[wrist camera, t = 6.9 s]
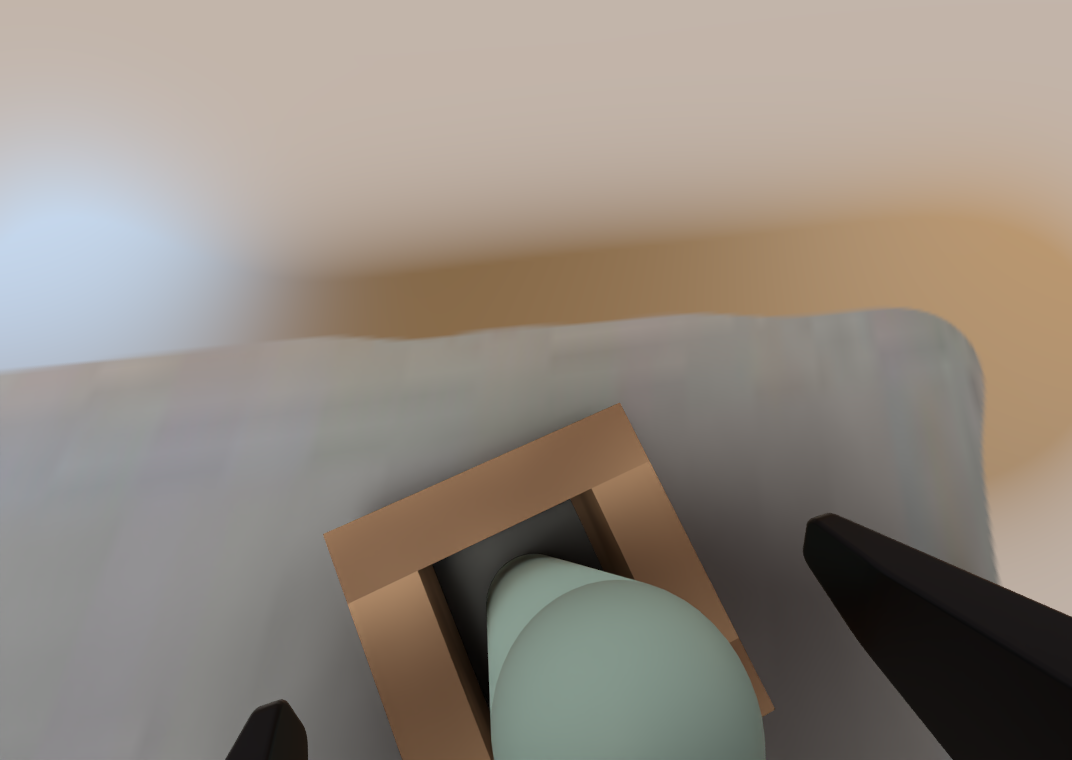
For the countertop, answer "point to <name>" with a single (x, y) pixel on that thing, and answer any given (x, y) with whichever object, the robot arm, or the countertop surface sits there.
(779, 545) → the countertop surface
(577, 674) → the dowel
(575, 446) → the wooden square socket block
